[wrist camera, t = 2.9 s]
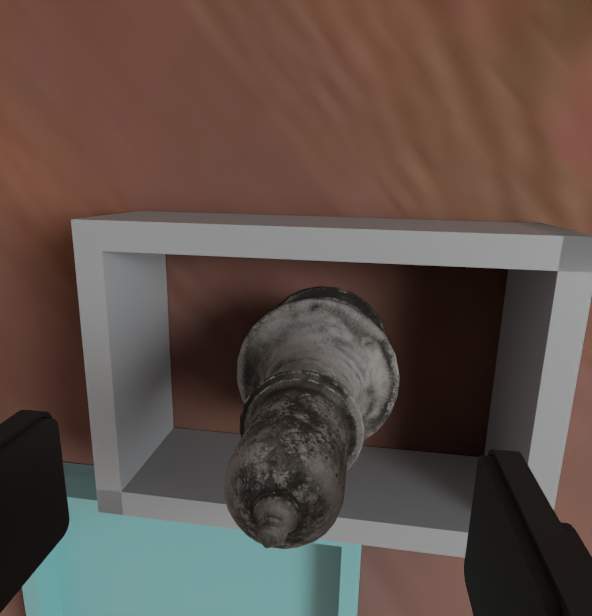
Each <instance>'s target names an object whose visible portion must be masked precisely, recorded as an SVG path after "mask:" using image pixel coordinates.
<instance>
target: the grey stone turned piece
mask: <svg viewBox="0 0 592 616" xmlns="http://www.w3.org/2000/svg"><path fill="white" fill-rule="evenodd" d="M399 377H400V376H399V370H398V365H397V360H396V355H395V353H394V351H393V349H392V347H391V345H390V343H389V341H388V339H387V337H386V331H385V328H384V326H383V324H382V322H381V320H380V318H379V316H378V314H377V313H376V312H375V311H374V310H373V309H372V307H371V306H370V305H369V304H368V303H367V302H366V301H364V300H363V299H361V298H360V297H358V296H357V295H355V294H354V293H351V292H348V291H345V290H342V289H339V288H334V287H315V288H310V289H305V290H302V291H300V292H298V293H296V294H294V295H292V296H290V297H289V298H288V299H287V300H285V301H284V302H283V303H282V304H281V305H280V306H279V307H277V308H275V309H273V310H271V311H269V312H268V313H267V314H266V315H264V316H263V317H262V318H261V319H260V320H259V321H258V322H257V323H255V324H254V325H253V327H252V328H251V330H250V332H249V333H248V335H247V336H246V338H245V339H244V341H243V343H242V346H241V349H240V353H239V356H238V360H237V383H238V387H239V391H240V395H241V398H242V401H243V403H244V406H243V409H242V412H241V415H240V434H241V439H240V441H239V443H238V445H237V447H236V449H235V451H234V453H233V455H232V457H231V459H230V461H229V464H228V467H227V470H226V473H225V480H224V498H225V501H226V505H227V509H228V511H229V513H230V514H231V516H232V518H233V520H234V521H235V523H236V524H237V525H238V527H239V528H240V529H241V530H242V531H243V532H244V533H245V534H246V535H247V536H249V537H250V538H252V539H253V540H255V541H256V542H258V543H260V544H262V545H263V546H264V547H265V548H271V547H272V548H279V549H290V548H297V547H301V546H304V545H306V544H309V543H312V542H315V541H316V540H318V539H319V538H320V537H322V536H323V535H325V534H326V533H327V532H328V531H329V529H330V528H331V527H332V526H333V524H334V523H335V521H336V519H337V517H338V515H339V513H340V510H341V508H342V505H343V503H344V492H345V482H346V472H347V471H348V470H349V469H350V467H351V466H352V465H353V463H354V462H355V461H356V460H357V458H358V455H359V453H360V450H361V448H362V445H363V441H364V440H366V439H367V438H369V437H370V436H371V435H373V434H374V433H375V432H377V431H378V430H379V429H380V427H381V426H382V425H383V423H384V422H385V421H386V420H387V418H388V417H389V416H390V414H391V412H392V409H393V407H394V404H395V402H396V399H397V397H398V387H399Z"/></svg>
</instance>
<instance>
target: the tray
mask: <svg viewBox="0 0 592 616" xmlns="http://www.w3.org/2000/svg"><path fill="white" fill-rule="evenodd" d="M63 468H64V477H65V485H66V493H67V501H68V509H69V518H70V521H69V526H68V530H67V532H66V534H65V535H64V537H63V538H62V539H61V540H60V542H59V543H58V544H57V545H56V546H55V548H54V549H53V550H52V551H51V552H50V554H49V555H48V556H47V557H46V558H45V560H44V561H43V562H42V563H41V565H40V566H39V567H38V568H37V569H36V571H35V572H34V573H33V574H32V575H31V577H30V578H29V579H28V580H27V581H26V583H25V584H24V585H23V586H22V591H23V598H24V605H25V611H26V616H357V608H358V592H359V576H360V561H361V545H359V544H351V543H343V542H335V541H327V540H319V539H318V540H316V541H315V542H312V543H309V544H306V545H304V546H301V547H297V548H290V549H279V548H272V547H271V548H265V547H264V546H263V545H262V544H260V543H258V542H256V541H255V540H253V539H252V538H250V537H249V536H247V535H246V534H245V533H244V532H243V531H242V530H239V529H231V528H223V527H215V526H207V525H199V524H191V523H183V522H175V521H167V520H158V519H150V518H142V517H134V516H126V515H118V514H110V513H102V512H98V503H97V492H96V482H95V471H94V466H93V465H84V464H75V463H66V462H63Z"/></svg>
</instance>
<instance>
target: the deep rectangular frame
mask: <svg viewBox="0 0 592 616" xmlns="http://www.w3.org/2000/svg"><path fill="white" fill-rule="evenodd" d="M71 226H72V237H73V248H74V258H75V269H76V280H77V290H78V301H79V311H80V322H81V333H82V343H83V354H84V365H85V375H86V386H87V396H88V407H89V418H90V428H91V439H92V450H93V460H94V471H95V482H96V492H97V503H98V512H102V513H110V514H118V515H126V516H134V517H142V518H150V519H158V520H167V521H175V522H183V523H191V524H199V525H207V526H215V527H223V528H231V529H239V530H241V529H240V528H239V527H238V525H237V524H236V523H235V521H234V520H233V518H232V516H231V514H230V513H229V511H228V509H227V505H226V501H225V498H224V480H225V473H226V470H227V467H228V464H229V461H230V459H231V457H232V455H233V453H234V451H235V449H236V447H237V445H238V443H239V441H240V439H241V434H234V433H223V432H213V431H203V430H192V429H182V428H174V426H173V405H172V383H171V362H170V341H169V320H168V298H167V277H166V256H165V254H177V255H200V256H223V257H246V258H269V259H292V260H315V261H338V262H361V263H384V264H407V265H430V266H453V267H476V268H499V269H508V275H507V283H506V291H505V298H504V306H503V314H502V321H501V329H500V337H499V344H498V352H497V360H496V367H495V375H494V383H493V390H492V398H491V406H490V413H489V421H488V429H487V437H486V444H485V452H484V456H487V455H488V452H489V450H490V449H495V450H507V451H518V452H520V453H521V454H522V456H523V457H524V459H525V461H526V463H527V464H528V466H529V468H530V470H531V472H532V473H533V475H534V477H535V479H536V480H537V482H538V484H539V486H540V487H541V489H542V491H543V493H544V494H545V496H546V498H547V500H548V502H549V503H550V505H551V507H552V509H553V510H554V506H555V501H556V495H557V489H558V484H559V478H560V472H561V467H562V461H563V455H564V450H565V444H566V438H567V433H568V427H569V421H570V415H571V410H572V404H573V398H574V393H575V387H576V381H577V376H578V370H579V364H580V359H581V353H582V347H583V341H584V336H585V330H586V324H587V319H588V313H589V307H590V302H591V296H592V235H590V234H586V233H582V232H578V231H573V230H569V229H565V228H561V227H557V226H552V225H548V224H544V223H522V222H489V221H457V220H424V219H391V218H359V217H326V216H293V215H261V214H228V213H195V212H163V211H135V212H127V213H119V214H110V215H102V216H94V217H85V218H77V219H71ZM478 458H479V457H473V456H463V455H452V454H442V453H432V452H421V451H411V450H400V449H390V448H380V447H369V446H362V448H361V450H360V453H359V455H358V458H357V460H356V461H355V462H354V463H353V465H352V466H351V467H350V469H349V470H348V471H347V472H346V482H345V492H344V503H343V505H342V508H341V510H340V513H339V515H338V517H337V519H336V521H335V523H334V524H333V526H332V527H331V528H330V529H329V531H328V532H327V533H326V534H325V535H323V536H322V537H320V538H319V540H327V541H335V542H343V543H351V544H359V545H367V546H375V547H383V548H391V549H399V550H407V551H415V552H423V553H432V554H440V555H448V556H456V557H464V558H465V554H466V546H467V538H468V531H469V523H470V516H471V508H472V500H473V493H474V485H475V478H476V470H477V463H478Z"/></svg>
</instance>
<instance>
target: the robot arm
mask: <svg viewBox="0 0 592 616" xmlns="http://www.w3.org/2000/svg"><path fill="white" fill-rule="evenodd" d="M69 521H70V518H69V509H68V501H67V493H66V485H65V477H64V468H63V460H62V452H61V444H60V436H59V428H58V423H57V421H56V420H55V419H52V416H51V415H50V413H48V412H43V411H31V410H21V411H19V412H17V413H16V414H14V415H13V416H11V417H10V418H8V419H7V420H5V421H4V422H2V423H1V424H0V613H1V612H2V610H3V609H4V608H5V607H6V606H7V604H8V603H9V602H10V601H11V599H12V598H13V597H14V596H15V595H16V593H17V592H18V591H19V590H20V589H21V587H22V586H23V585H24V584H25V583H26V581H27V580H28V579H29V578H30V577H31V575H32V574H33V573H34V572H35V571H36V569H37V568H38V567H39V566H40V565H41V563H42V562H43V561H44V560H45V558H46V557H47V556H48V555H49V554H50V552H51V551H52V550H53V549H54V548H55V546H56V545H57V544H58V543H59V542H60V540H61V539H62V538H63V537H64V535H65V534H66V532H67V530H68V526H69ZM464 576H465V583H466V587H467V591H468V595H469V599H470V603H471V607H472V611H473V615H474V616H592V557H591V555H590V554H589V552H588V550H587V549H586V547H585V545H584V544H583V542H582V540H581V539H580V537H579V535H578V534H577V532H576V530H575V529H574V528H573V527H572V525H570V524H568V523H561V522H560V521H559V519H558V517H557V516H556V514H555V512H554V510H553V509H552V507H551V505H550V503H549V502H548V500H547V498H546V496H545V494H544V493H543V491H542V489H541V487H540V486H539V484H538V482H537V480H536V479H535V477H534V475H533V473H532V472H531V470H530V468H529V466H528V464H527V463H526V461H525V459H524V457H523V456H522V454H521V453H520V452H518V451H507V450H495V449H490V450H489V452H488V455H487V456H482V455H480V456H479V458H478V463H477V470H476V478H475V485H474V493H473V500H472V508H471V516H470V523H469V531H468V538H467V546H466V554H465V561H464Z"/></svg>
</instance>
